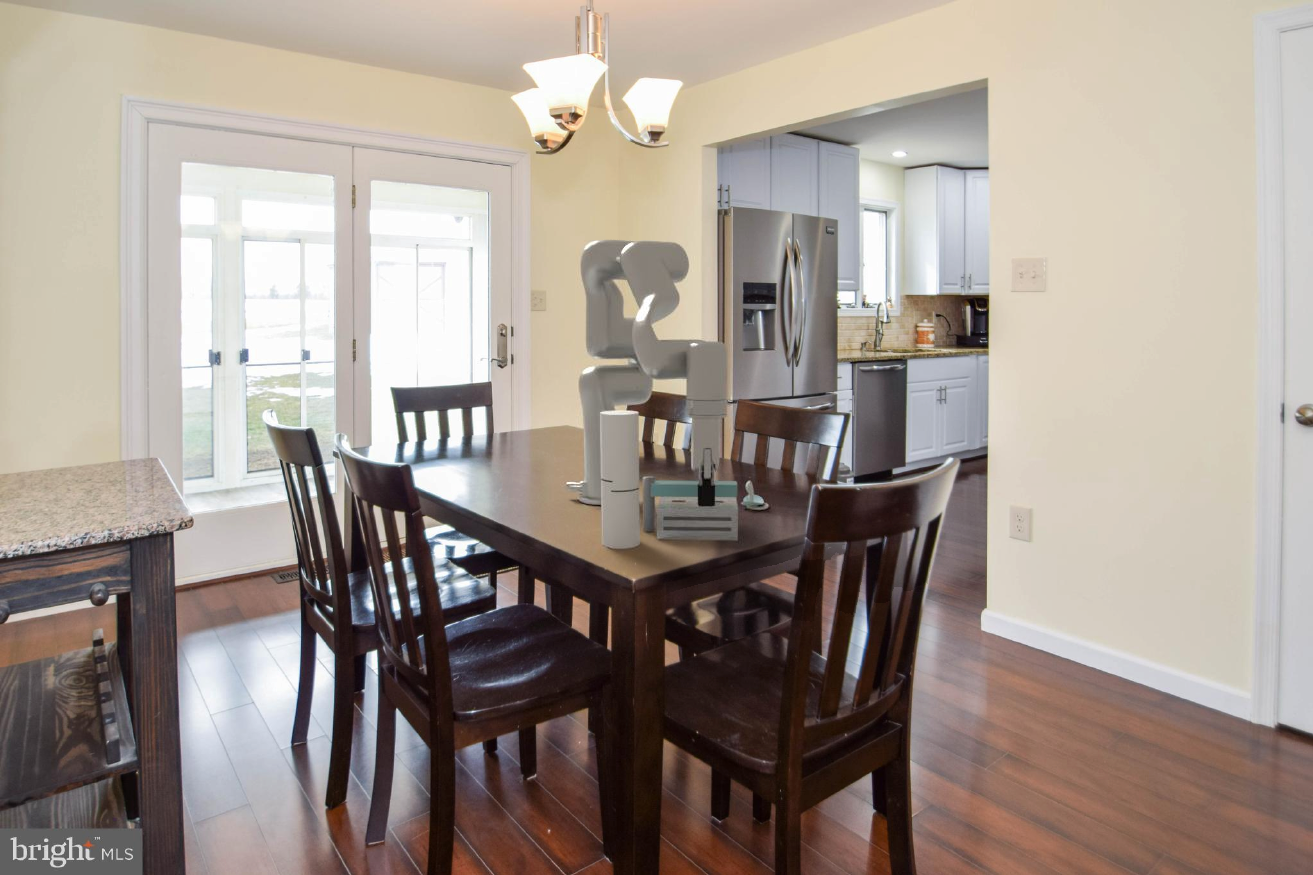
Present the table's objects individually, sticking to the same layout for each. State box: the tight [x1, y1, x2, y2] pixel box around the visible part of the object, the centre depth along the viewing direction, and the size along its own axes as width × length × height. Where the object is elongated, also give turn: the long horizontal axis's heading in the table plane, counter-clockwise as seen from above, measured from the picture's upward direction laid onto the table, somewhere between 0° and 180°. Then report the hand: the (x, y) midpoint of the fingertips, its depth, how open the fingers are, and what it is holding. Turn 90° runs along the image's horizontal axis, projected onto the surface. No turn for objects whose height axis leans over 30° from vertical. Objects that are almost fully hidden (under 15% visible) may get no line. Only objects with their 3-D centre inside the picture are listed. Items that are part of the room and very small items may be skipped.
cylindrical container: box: [600, 409, 641, 550], centre depth 150 cm, size 7×7×25 cm
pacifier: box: [740, 480, 770, 511], centre depth 180 cm, size 7×6×6 cm
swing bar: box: [642, 475, 738, 532], centre depth 159 cm, size 19×4×11 cm, turn 86°
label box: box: [656, 497, 739, 541], centre depth 159 cm, size 16×12×6 cm
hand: (706, 505), depth 151 cm, fingers closed
